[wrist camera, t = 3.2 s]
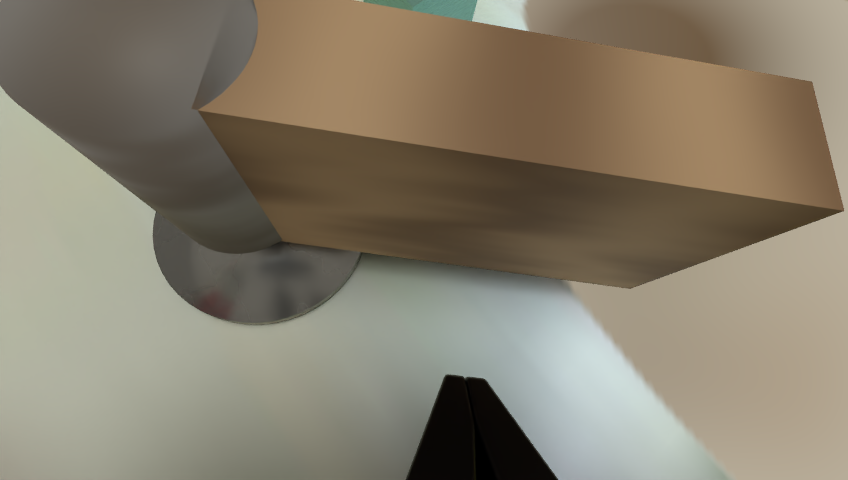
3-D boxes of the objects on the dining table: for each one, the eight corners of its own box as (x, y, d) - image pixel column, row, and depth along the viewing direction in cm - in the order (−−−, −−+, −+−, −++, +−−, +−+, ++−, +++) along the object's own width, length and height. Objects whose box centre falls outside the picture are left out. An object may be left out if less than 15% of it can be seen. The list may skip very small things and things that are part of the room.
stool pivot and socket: (558, 161, 19) (608, 101, 15) (216, 368, 15) (155, 362, 11) (432, 5, 22) (445, -84, 17) (102, 144, 17) (14, 69, 13)
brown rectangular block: (156, 245, 13) (-64, 108, 7) (197, 127, 15) (50, -82, 8) (631, 308, 14) (852, 246, 8) (624, 193, 16) (805, 56, 9)
